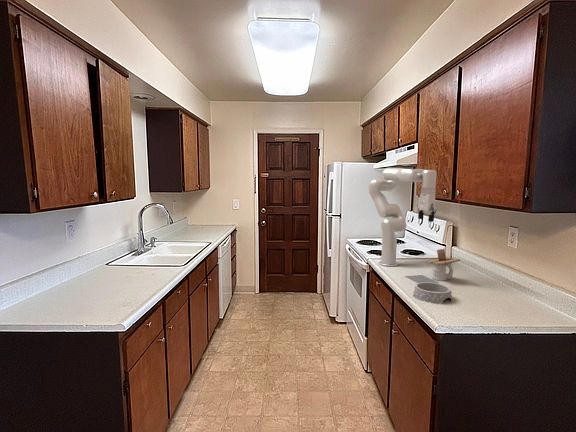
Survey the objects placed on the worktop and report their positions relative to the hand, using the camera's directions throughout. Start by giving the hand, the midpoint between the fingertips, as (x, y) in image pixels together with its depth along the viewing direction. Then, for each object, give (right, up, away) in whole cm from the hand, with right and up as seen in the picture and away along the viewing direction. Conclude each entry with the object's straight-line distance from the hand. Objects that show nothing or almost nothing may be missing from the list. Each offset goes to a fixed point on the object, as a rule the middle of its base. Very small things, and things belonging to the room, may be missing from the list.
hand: (425, 220), depth 202 cm
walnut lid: (+7, -24, -7) cm, 25 cm away
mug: (+7, -35, -6) cm, 36 cm away
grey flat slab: (-5, -35, -7) cm, 36 cm away
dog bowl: (-10, -38, -32) cm, 51 cm away
